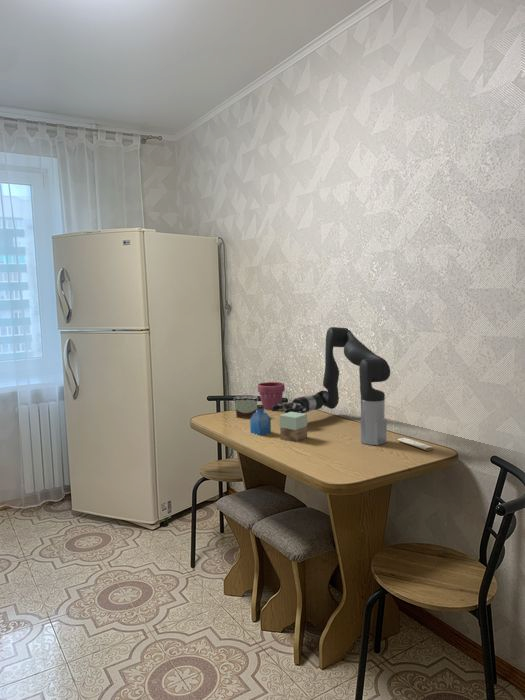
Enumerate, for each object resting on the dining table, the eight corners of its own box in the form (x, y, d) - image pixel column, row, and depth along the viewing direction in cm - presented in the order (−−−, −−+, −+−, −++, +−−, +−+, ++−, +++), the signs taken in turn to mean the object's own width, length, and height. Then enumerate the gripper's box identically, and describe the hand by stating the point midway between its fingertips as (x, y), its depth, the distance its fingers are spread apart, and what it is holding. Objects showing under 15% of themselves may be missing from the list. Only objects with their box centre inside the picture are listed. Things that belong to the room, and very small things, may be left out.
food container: (260, 414, 255) (259, 394, 254) (258, 417, 248) (258, 397, 247) (235, 414, 256) (235, 394, 255) (233, 417, 250) (233, 397, 249)
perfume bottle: (261, 430, 225) (261, 403, 224) (270, 433, 220) (270, 405, 219) (250, 432, 221) (250, 405, 220) (259, 435, 216) (259, 407, 215)
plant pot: (257, 405, 276) (257, 381, 275) (283, 404, 277) (283, 381, 276) (258, 411, 262) (258, 386, 261) (286, 410, 263) (285, 385, 262)
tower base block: (307, 437, 213) (306, 425, 212) (297, 442, 206) (297, 430, 206) (290, 435, 217) (290, 423, 217) (280, 439, 210) (280, 427, 210)
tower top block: (307, 426, 212) (307, 414, 211) (295, 430, 206) (295, 417, 205) (291, 423, 217) (291, 411, 216) (279, 427, 211) (279, 415, 210)
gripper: (293, 394, 243) (267, 399, 232) (315, 399, 233) (290, 404, 222) (293, 410, 244) (268, 416, 233) (315, 415, 233) (290, 421, 223)
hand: (279, 410), depth 228 cm, fingers open, 8 cm apart
